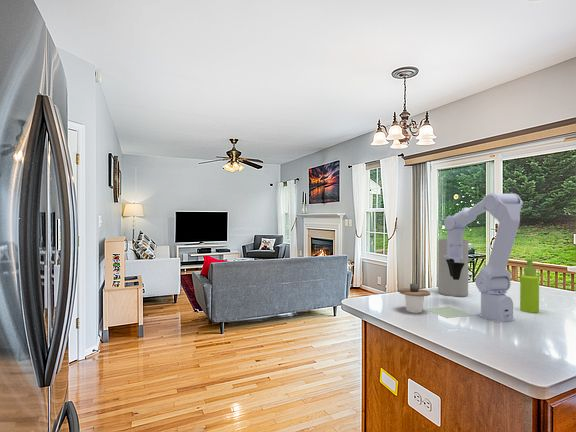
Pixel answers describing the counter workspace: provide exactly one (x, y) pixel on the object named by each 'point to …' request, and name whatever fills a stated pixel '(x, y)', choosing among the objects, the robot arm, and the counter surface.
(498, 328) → the counter surface
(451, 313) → the sage mat
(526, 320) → the counter surface
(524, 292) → the soap dispenser
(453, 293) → the cylinder vase
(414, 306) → the white cup
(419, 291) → the walnut lid
